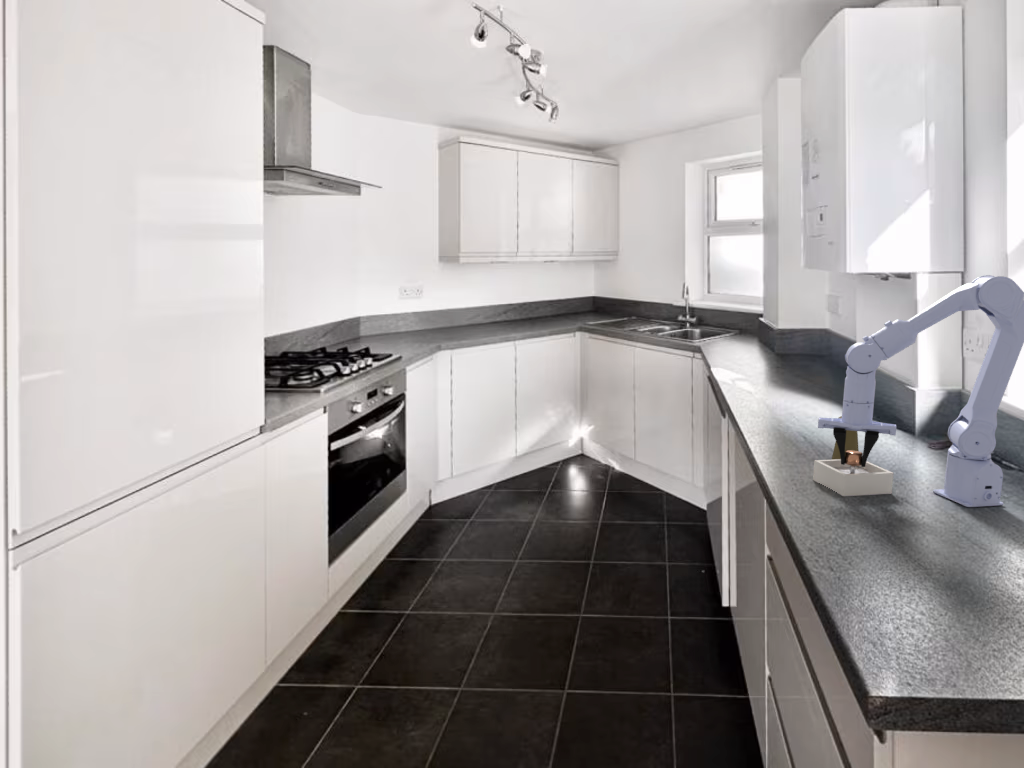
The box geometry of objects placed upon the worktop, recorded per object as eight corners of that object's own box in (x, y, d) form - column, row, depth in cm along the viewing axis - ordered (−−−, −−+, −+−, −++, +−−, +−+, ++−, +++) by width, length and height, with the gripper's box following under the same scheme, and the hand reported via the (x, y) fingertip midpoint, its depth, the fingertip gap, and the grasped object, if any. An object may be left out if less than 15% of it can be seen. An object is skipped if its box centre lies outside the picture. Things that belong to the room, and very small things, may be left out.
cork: (835, 456, 170) (838, 412, 168) (862, 461, 167) (866, 416, 165) (828, 462, 166) (831, 417, 164) (855, 467, 162) (859, 420, 160)
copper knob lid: (886, 481, 144) (888, 457, 143) (845, 483, 143) (847, 459, 142) (858, 468, 153) (860, 445, 152) (819, 470, 152) (821, 447, 151)
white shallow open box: (891, 493, 144) (893, 472, 143) (843, 496, 142) (844, 475, 141) (852, 474, 156) (854, 455, 155) (807, 477, 155) (809, 457, 154)
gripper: (819, 401, 145) (814, 464, 147) (899, 407, 138) (892, 474, 141) (821, 395, 151) (816, 456, 153) (897, 401, 144) (891, 465, 147)
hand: (852, 464), depth 147 cm, fingers closed on copper knob lid, 3 cm apart
